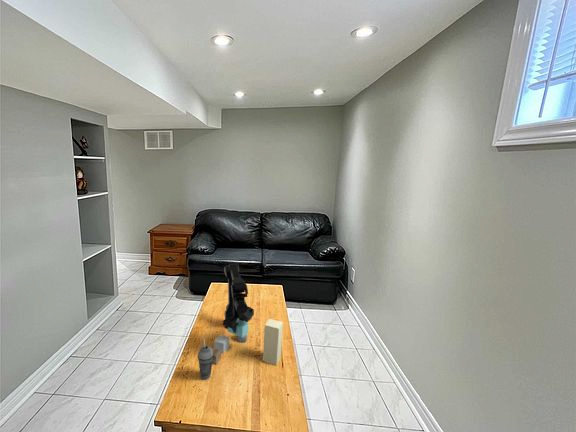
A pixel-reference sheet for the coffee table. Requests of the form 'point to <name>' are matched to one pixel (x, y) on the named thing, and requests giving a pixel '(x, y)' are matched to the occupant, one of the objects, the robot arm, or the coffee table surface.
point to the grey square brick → (221, 343)
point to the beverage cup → (205, 361)
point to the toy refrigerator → (272, 341)
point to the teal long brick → (240, 329)
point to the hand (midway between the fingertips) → (237, 330)
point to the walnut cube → (216, 356)
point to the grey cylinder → (242, 339)
